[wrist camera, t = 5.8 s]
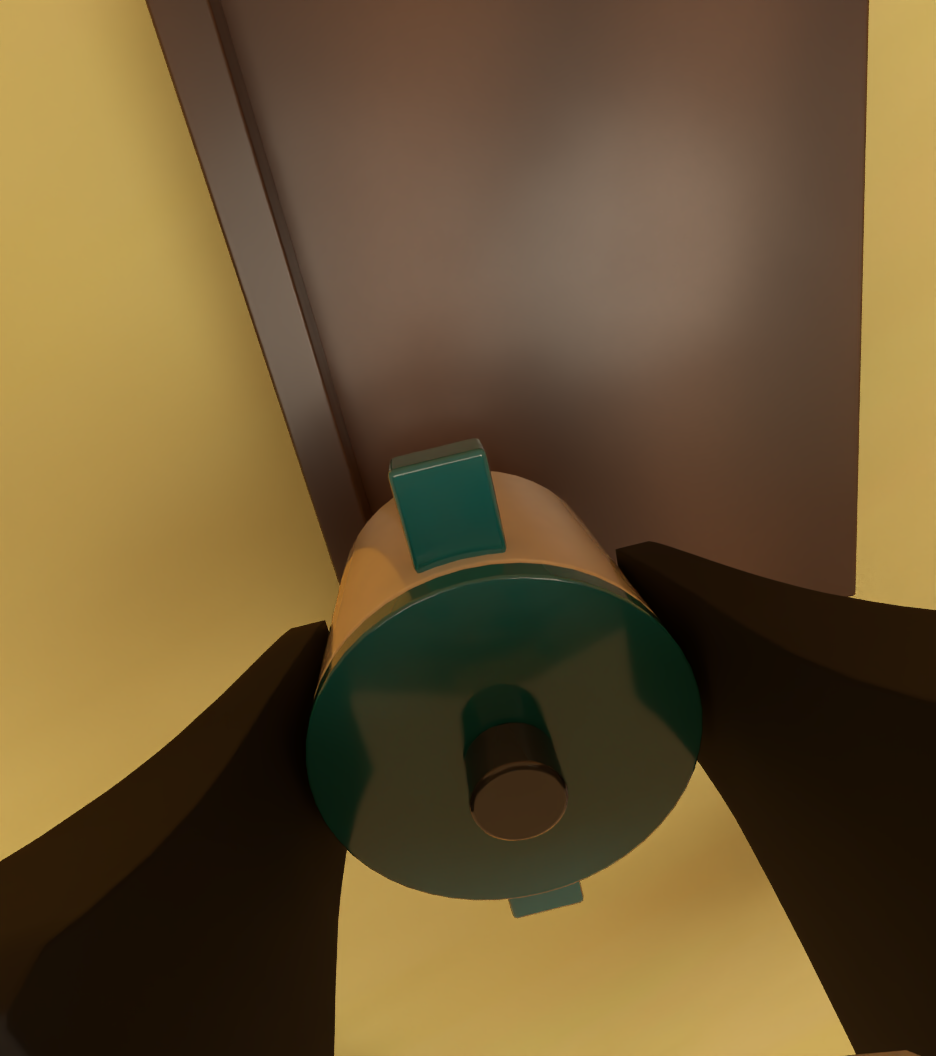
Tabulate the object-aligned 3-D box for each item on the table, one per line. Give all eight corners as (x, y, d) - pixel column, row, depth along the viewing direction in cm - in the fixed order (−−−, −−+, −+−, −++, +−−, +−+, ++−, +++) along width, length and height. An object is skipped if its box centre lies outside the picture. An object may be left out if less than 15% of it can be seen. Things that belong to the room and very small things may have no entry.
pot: (569, 369, 11) (710, 433, 6) (624, 718, 14) (750, 964, 9) (282, 438, 11) (173, 565, 6) (398, 773, 14) (392, 1054, 9)
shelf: (740, -163, 14) (939, -438, 9) (766, 535, 21) (889, 617, 15) (194, -38, 14) (64, -241, 9) (394, 624, 21) (389, 737, 15)
